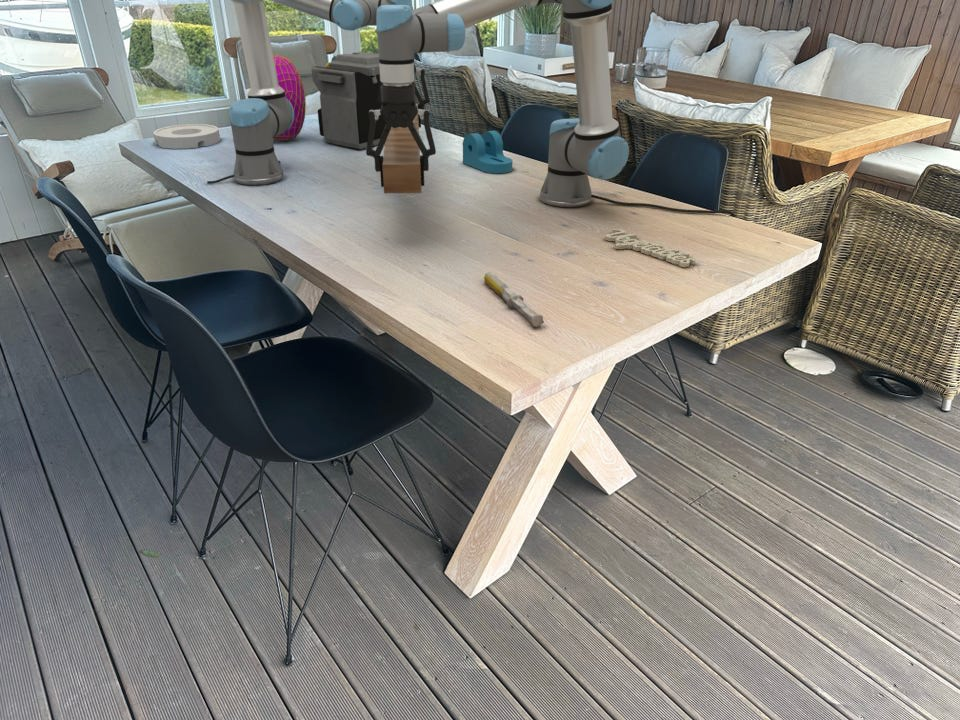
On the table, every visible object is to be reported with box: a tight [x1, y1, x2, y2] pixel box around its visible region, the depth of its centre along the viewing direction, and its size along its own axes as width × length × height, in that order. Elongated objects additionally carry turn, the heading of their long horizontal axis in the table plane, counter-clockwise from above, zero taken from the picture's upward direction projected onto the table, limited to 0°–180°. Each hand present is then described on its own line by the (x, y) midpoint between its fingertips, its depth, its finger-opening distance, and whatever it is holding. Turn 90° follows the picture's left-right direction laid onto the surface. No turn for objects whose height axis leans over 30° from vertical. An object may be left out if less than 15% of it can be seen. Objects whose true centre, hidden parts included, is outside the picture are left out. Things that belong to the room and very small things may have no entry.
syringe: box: [483, 271, 545, 328], centre depth 142 cm, size 25×4×3 cm, turn 21°
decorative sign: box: [605, 228, 696, 268], centre depth 169 cm, size 26×1×10 cm
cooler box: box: [311, 51, 418, 150], centre depth 260 cm, size 37×22×30 cm, turn 144°
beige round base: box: [152, 123, 221, 150], centre depth 260 cm, size 23×23×4 cm
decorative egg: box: [273, 54, 307, 142], centre depth 257 cm, size 19×19×30 cm
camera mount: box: [462, 130, 513, 174], centre depth 231 cm, size 18×10×10 cm, turn 35°
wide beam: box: [382, 103, 422, 194], centre depth 188 cm, size 71×9×7 cm, turn 5°
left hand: (404, 126), depth 216 cm, fingers closed on wide beam, 9 cm apart
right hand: (403, 184), depth 163 cm, fingers closed on wide beam, 9 cm apart
